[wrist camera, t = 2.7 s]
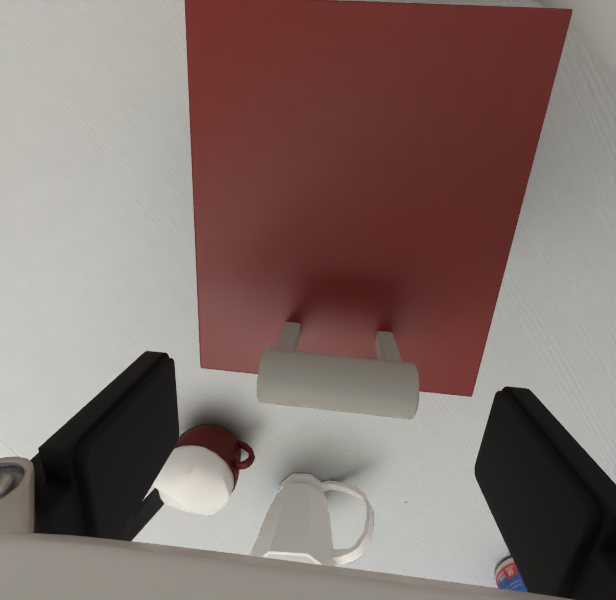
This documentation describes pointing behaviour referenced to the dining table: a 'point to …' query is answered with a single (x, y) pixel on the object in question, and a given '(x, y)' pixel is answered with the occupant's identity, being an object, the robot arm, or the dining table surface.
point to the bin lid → (359, 189)
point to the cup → (307, 524)
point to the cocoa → (194, 476)
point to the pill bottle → (509, 577)
